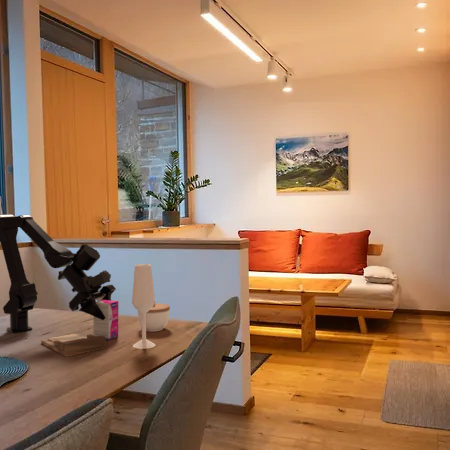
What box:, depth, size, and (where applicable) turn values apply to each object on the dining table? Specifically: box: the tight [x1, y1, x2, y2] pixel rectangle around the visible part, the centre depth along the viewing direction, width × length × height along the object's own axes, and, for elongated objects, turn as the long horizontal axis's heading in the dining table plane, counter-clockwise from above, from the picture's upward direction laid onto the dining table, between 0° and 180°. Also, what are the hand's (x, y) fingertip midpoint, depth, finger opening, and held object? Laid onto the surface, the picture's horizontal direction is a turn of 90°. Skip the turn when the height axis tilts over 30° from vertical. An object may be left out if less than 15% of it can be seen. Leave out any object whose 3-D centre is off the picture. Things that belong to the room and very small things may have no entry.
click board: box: [40, 333, 106, 357], centre depth 155 cm, size 18×12×4 cm, turn 40°
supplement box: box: [92, 299, 119, 341], centre depth 164 cm, size 6×6×12 cm
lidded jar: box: [137, 302, 171, 333], centre depth 174 cm, size 11×11×9 cm
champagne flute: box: [131, 263, 156, 350], centre depth 154 cm, size 7×7×24 cm
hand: (109, 317), depth 164 cm, fingers closed on supplement box, 6 cm apart
